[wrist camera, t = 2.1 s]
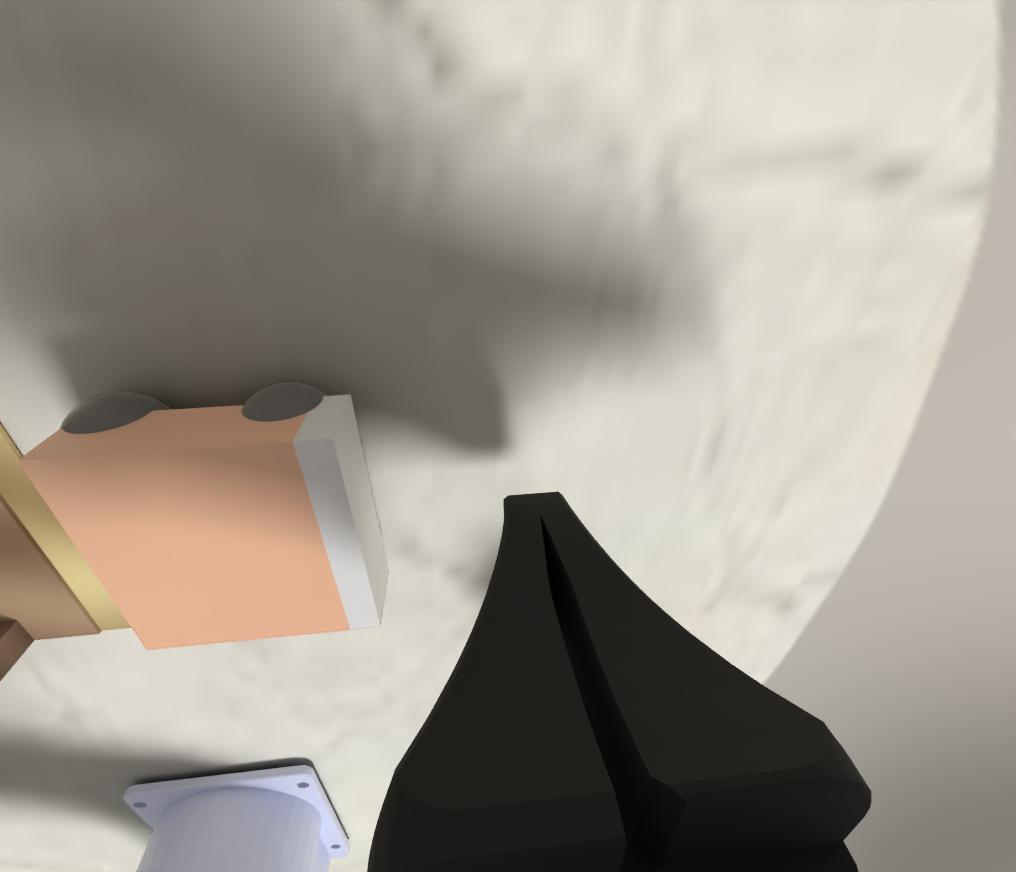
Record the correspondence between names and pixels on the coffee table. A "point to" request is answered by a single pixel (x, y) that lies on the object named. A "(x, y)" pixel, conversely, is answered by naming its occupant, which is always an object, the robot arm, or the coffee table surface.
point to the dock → (41, 571)
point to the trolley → (220, 514)
